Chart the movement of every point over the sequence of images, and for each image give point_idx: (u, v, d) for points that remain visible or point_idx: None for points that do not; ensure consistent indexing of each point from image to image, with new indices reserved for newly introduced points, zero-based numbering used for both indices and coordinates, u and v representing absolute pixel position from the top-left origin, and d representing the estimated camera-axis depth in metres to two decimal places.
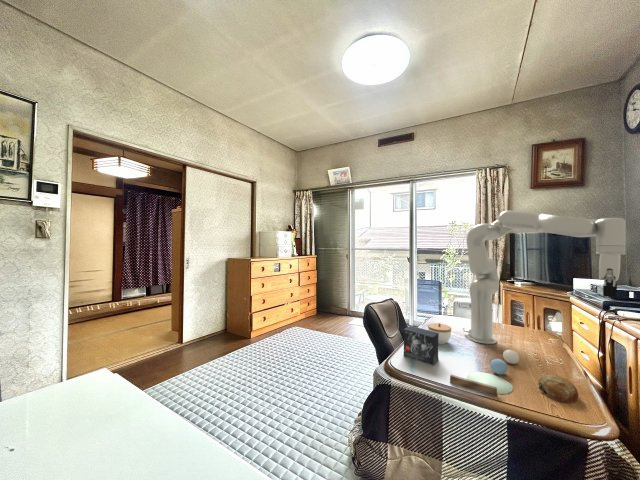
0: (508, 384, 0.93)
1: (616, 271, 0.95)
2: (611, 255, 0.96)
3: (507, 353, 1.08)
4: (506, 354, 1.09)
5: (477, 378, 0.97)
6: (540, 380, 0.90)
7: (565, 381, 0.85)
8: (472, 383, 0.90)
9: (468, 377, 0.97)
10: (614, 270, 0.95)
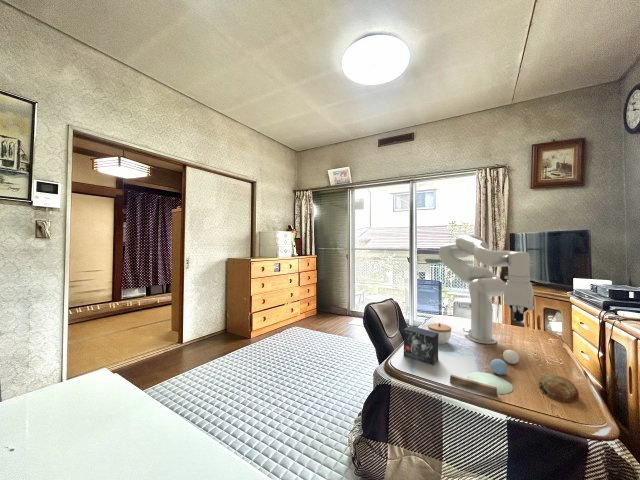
0: (508, 384, 0.93)
1: (533, 298, 1.12)
2: (531, 284, 1.12)
3: (507, 353, 1.08)
4: (506, 354, 1.09)
5: (477, 378, 0.97)
6: (540, 380, 0.90)
7: (565, 381, 0.85)
8: (472, 383, 0.90)
9: (468, 377, 0.97)
10: (533, 297, 1.12)
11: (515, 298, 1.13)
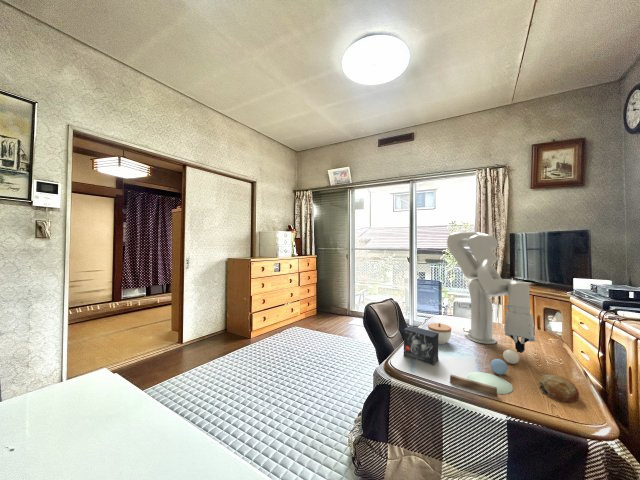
0: (508, 384, 0.93)
1: (534, 328, 1.12)
2: (531, 315, 1.11)
3: (507, 353, 1.08)
4: (506, 354, 1.09)
5: (477, 378, 0.97)
6: (541, 380, 0.90)
7: (566, 381, 0.85)
8: (472, 383, 0.90)
9: (468, 377, 0.97)
10: (534, 328, 1.11)
11: (516, 329, 1.13)
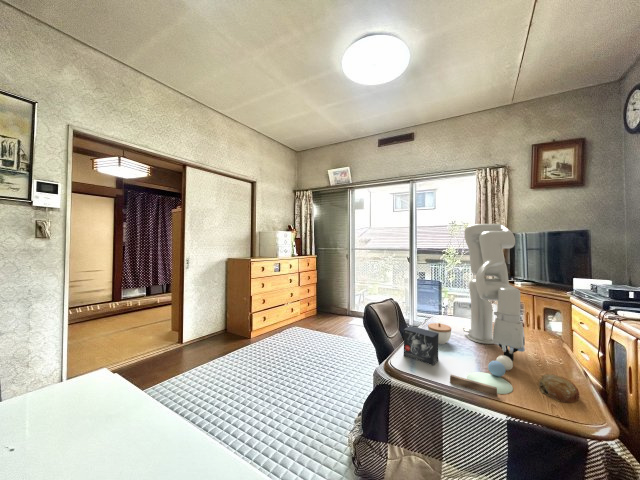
0: (508, 384, 0.93)
1: (524, 338, 1.04)
2: (522, 324, 1.04)
3: None
4: None
5: (477, 378, 0.97)
6: (541, 380, 0.90)
7: (566, 381, 0.86)
8: (472, 383, 0.90)
9: (468, 377, 0.97)
10: (524, 337, 1.04)
11: (504, 337, 1.06)
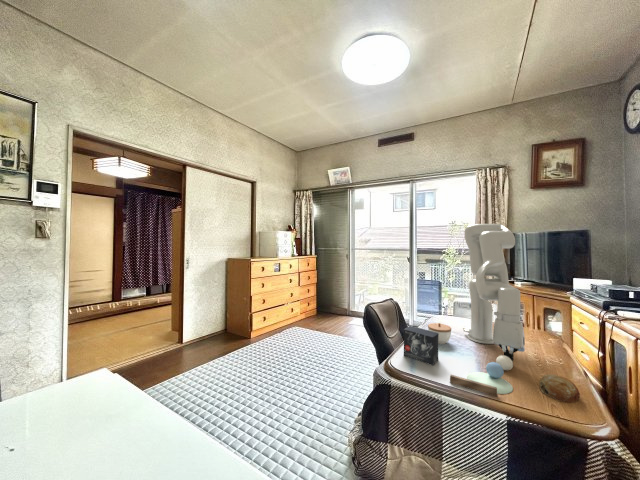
0: (508, 384, 0.93)
1: (524, 338, 1.04)
2: (522, 324, 1.04)
3: None
4: None
5: (477, 378, 0.97)
6: (541, 380, 0.90)
7: (566, 381, 0.86)
8: (472, 383, 0.90)
9: (468, 377, 0.97)
10: (524, 337, 1.04)
11: (504, 338, 1.06)
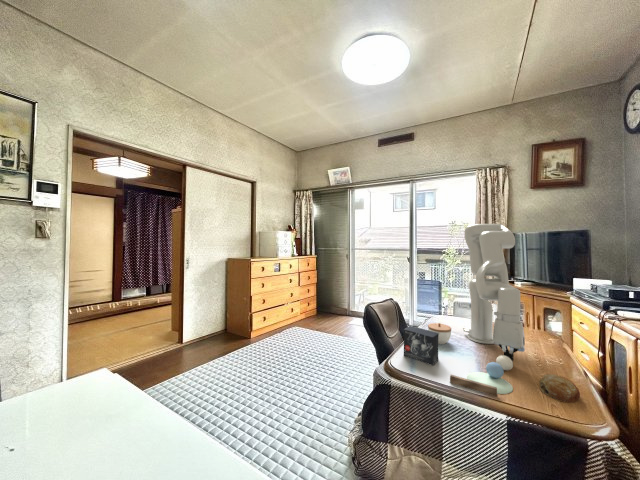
0: (508, 384, 0.93)
1: (524, 338, 1.04)
2: (522, 324, 1.04)
3: None
4: None
5: (477, 378, 0.97)
6: (542, 380, 0.90)
7: (567, 381, 0.86)
8: (472, 383, 0.90)
9: (468, 377, 0.97)
10: (524, 337, 1.04)
11: (504, 338, 1.06)
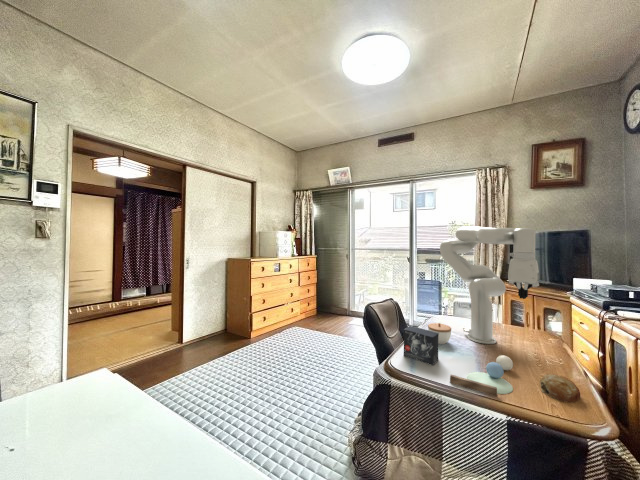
0: (508, 384, 0.93)
1: (538, 274, 1.11)
2: (536, 261, 1.10)
3: None
4: None
5: (477, 378, 0.97)
6: (542, 380, 0.90)
7: (567, 381, 0.86)
8: (472, 383, 0.90)
9: (468, 377, 0.97)
10: (538, 274, 1.10)
11: (519, 275, 1.12)
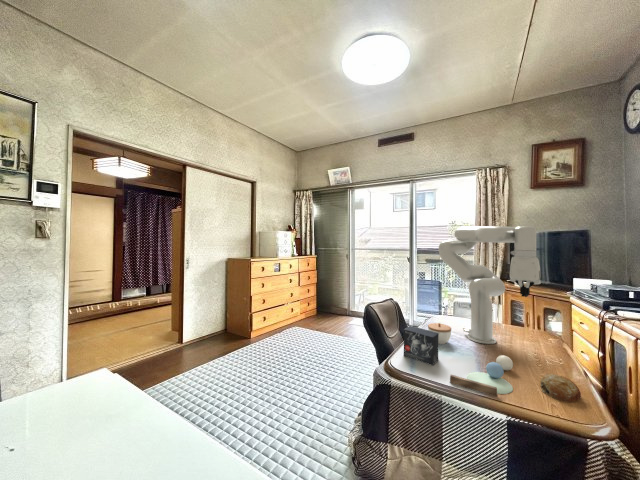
0: (508, 384, 0.93)
1: None
2: None
3: None
4: None
5: (477, 378, 0.97)
6: (542, 380, 0.90)
7: (567, 380, 0.86)
8: (472, 383, 0.90)
9: (468, 377, 0.97)
10: None
11: (521, 273, 1.13)
